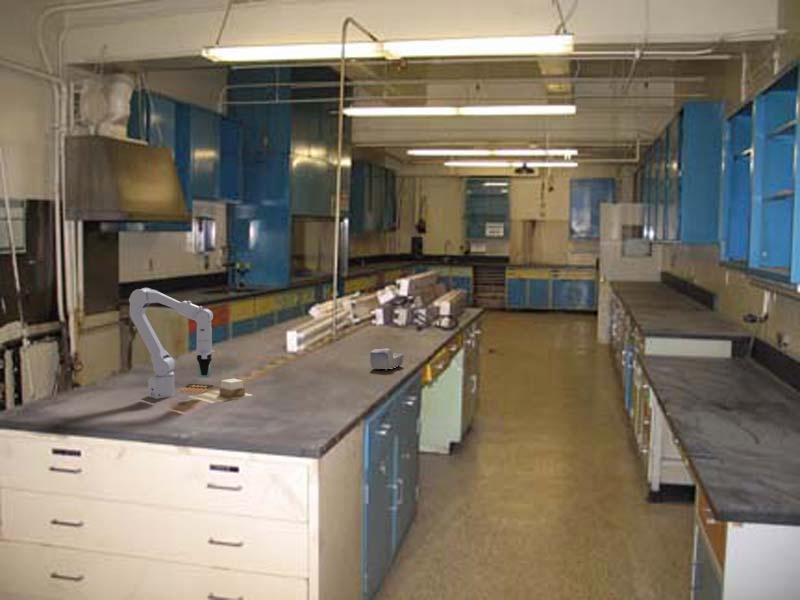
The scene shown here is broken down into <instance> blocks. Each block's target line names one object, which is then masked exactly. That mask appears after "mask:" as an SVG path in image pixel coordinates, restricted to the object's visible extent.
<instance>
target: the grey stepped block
mask: <svg viewBox="0 0 800 600" xmlns="http://www.w3.org/2000/svg"><path fill="white" fill-rule="evenodd" d="M369 361H370V367H371V369H372V368H374V369H373V370H380V369H386V370H385V371H388V370H387V369H390V368H394V367H397V366H400V365H401V366H402V364H403V361H404V354H403V353H397V352H393V350H392V349H390V348H387V347H385V348H380V349H379V348H378V349H377V348H376V349H375V348H374V349H372V350H371V351H369ZM401 366H400V367H401Z"/></svg>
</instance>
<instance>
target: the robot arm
mask: <svg viewBox="0 0 800 600" xmlns="http://www.w3.org/2000/svg"><path fill="white" fill-rule="evenodd" d="M128 301H129V317H130V318H131V320H132V322H133V324H134V326H135V328H136V330H137V332H138V333H139V335H140V337H141V339H142V341H143V343H144V344H145V346H146V348H147V350H148V351H149V354H150V361H151V364H152V370H153V372H154V376H151V377H149V378H148V381H147V384H148V386H147V388H148V389H147V396H148V397H149V398H153V399H156V400H157V399H163V398H171V397H175V373H174V370H175V368H176V365H177V364H176V363H177V362H176V360H175V359H174V358H173V357H172V356H171V355H170V354H169V352H168V351H167V350H166V349H165V348H164V347H163V345H162V343H161V342H160V340H159V338H158V336H157V334H156V332H155V330H154V328H153V327H152V325H151V323H150V321H149V318H148V317H147V315H146V312H147V309H148V307H149V306H150V305H151V304H155V303H158V304H161V305H164V306H166V307H170V308H171V309H175V310H176V311H177V313H178V314H179V315H181V316H183V317H185V318H188V319H189V320H192V321H195V323H196V350H195V354H197V355H196V360H197V362H198V365H200V371H201V375H202V376H203V375H207V373H208V368H209V365H211V362H212V354H214V353H215V352H216V350H213V349H212V348H213V347H212V345H213V339H212V338H213V337H212V336H213V335H212V333H213V328H212V320H213V319H214V313H213V311H212V310H210V309H209V308H205V307H203V306H202V305H200V306H199V305H197V304H194V303H192V301H191V300H183V301H179V300H177V299H175V298H173V297H170V296H168V295H167V294H164V293H162V292H160V291H159V290H156V289H152V288H149V287H143V288H141V289H140V288H138V289H135V290H133V291H132V293H130V295H129V298H128Z"/></svg>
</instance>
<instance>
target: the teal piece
mask: <svg viewBox="0 0 800 600" xmlns="http://www.w3.org/2000/svg"><path fill="white" fill-rule="evenodd" d="M197 369H198V372H197V373H198V374H197V375H198V378H202V379H203V378H210V377H211V364H209V368H208V373H207V375H203V376H202V375H201V371H200V365H199V364H198V368H197Z"/></svg>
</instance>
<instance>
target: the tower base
mask: <svg viewBox="0 0 800 600" xmlns="http://www.w3.org/2000/svg"><path fill="white" fill-rule="evenodd" d="M245 389H246V388H245V387H243V388H240V389H235V390H227V389H223V388H221V387H219V390H218V391H219V395H220V396H224V397H228V398H234V397H239V396H244V395H245V393H246V392H245V391H246V390H245Z"/></svg>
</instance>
